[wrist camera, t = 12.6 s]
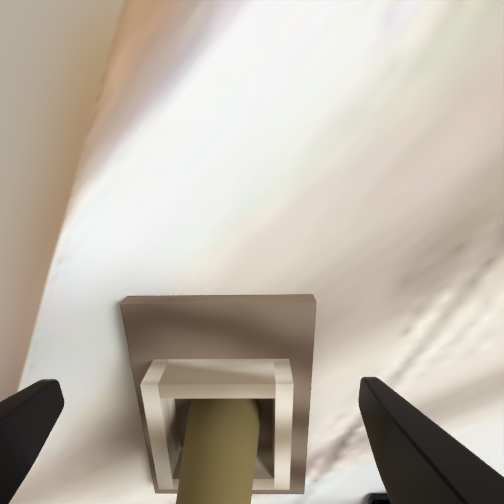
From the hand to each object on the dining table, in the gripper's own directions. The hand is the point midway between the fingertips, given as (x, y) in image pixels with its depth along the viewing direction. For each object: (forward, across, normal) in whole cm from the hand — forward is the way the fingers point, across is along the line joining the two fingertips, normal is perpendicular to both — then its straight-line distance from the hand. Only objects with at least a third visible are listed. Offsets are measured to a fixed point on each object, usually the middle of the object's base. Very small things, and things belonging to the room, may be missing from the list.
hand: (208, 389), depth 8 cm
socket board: (+12, +2, +13) cm, 18 cm away
